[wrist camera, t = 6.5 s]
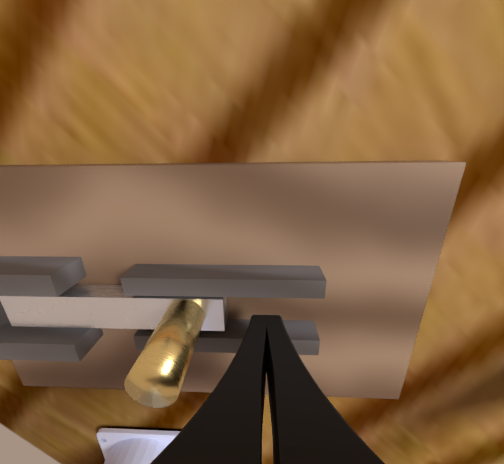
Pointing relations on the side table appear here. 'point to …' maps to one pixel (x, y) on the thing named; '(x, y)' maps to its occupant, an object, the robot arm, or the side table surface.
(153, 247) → the door board
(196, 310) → the bolt
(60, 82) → the side table surface
